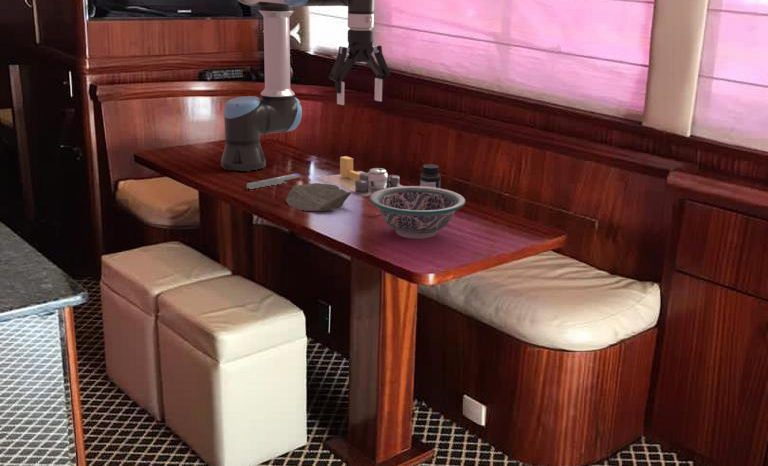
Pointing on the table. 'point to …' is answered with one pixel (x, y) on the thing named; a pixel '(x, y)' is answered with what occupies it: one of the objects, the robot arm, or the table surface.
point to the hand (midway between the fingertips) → (359, 102)
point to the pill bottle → (430, 176)
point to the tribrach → (375, 181)
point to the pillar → (271, 181)
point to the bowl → (417, 209)
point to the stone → (316, 197)
